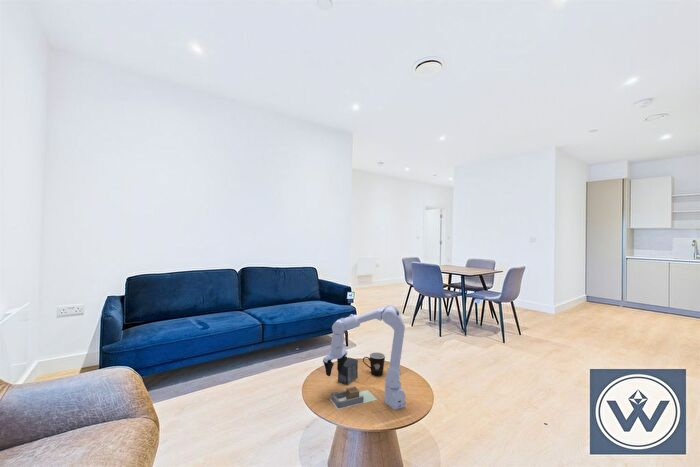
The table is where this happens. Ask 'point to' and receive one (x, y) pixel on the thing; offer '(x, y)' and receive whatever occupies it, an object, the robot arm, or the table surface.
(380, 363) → the coffee mug
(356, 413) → the table surface
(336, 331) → the robot arm
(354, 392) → the walnut cube
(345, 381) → the small box
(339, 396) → the bay board
